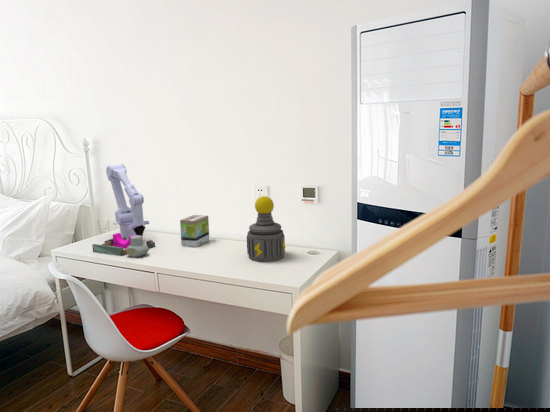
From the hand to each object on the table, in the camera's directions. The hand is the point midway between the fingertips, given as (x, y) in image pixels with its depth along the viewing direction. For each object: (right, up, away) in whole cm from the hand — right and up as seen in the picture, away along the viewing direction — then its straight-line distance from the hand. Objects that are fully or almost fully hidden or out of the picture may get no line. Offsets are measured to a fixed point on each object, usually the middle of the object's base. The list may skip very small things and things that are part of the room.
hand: (140, 239), depth 245 cm
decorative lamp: (+73, -6, -35) cm, 81 cm away
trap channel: (-5, -4, -10) cm, 12 cm away
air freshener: (+7, -7, -25) cm, 27 cm away
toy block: (-4, -4, -9) cm, 11 cm away
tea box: (+33, -2, -5) cm, 34 cm away
